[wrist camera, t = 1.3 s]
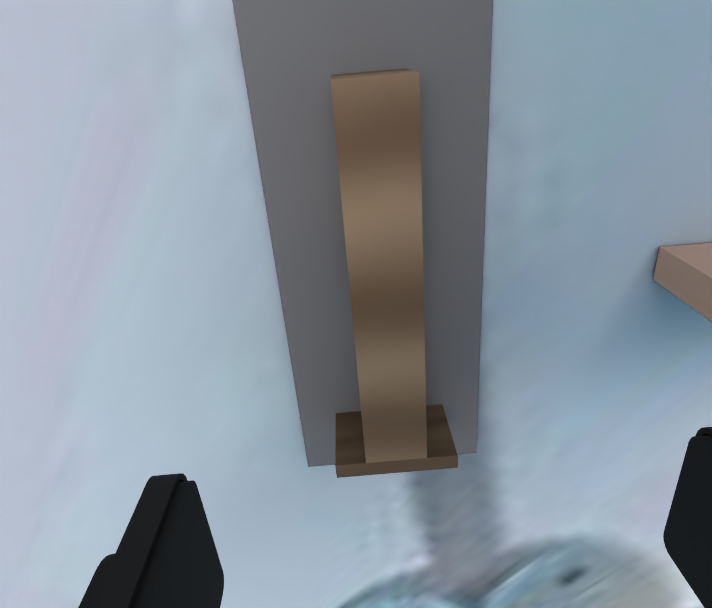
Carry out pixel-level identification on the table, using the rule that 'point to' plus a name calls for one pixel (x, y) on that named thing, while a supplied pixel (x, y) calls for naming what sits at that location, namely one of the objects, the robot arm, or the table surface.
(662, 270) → the tile
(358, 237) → the wooden beam
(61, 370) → the table surface
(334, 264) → the tool mat
